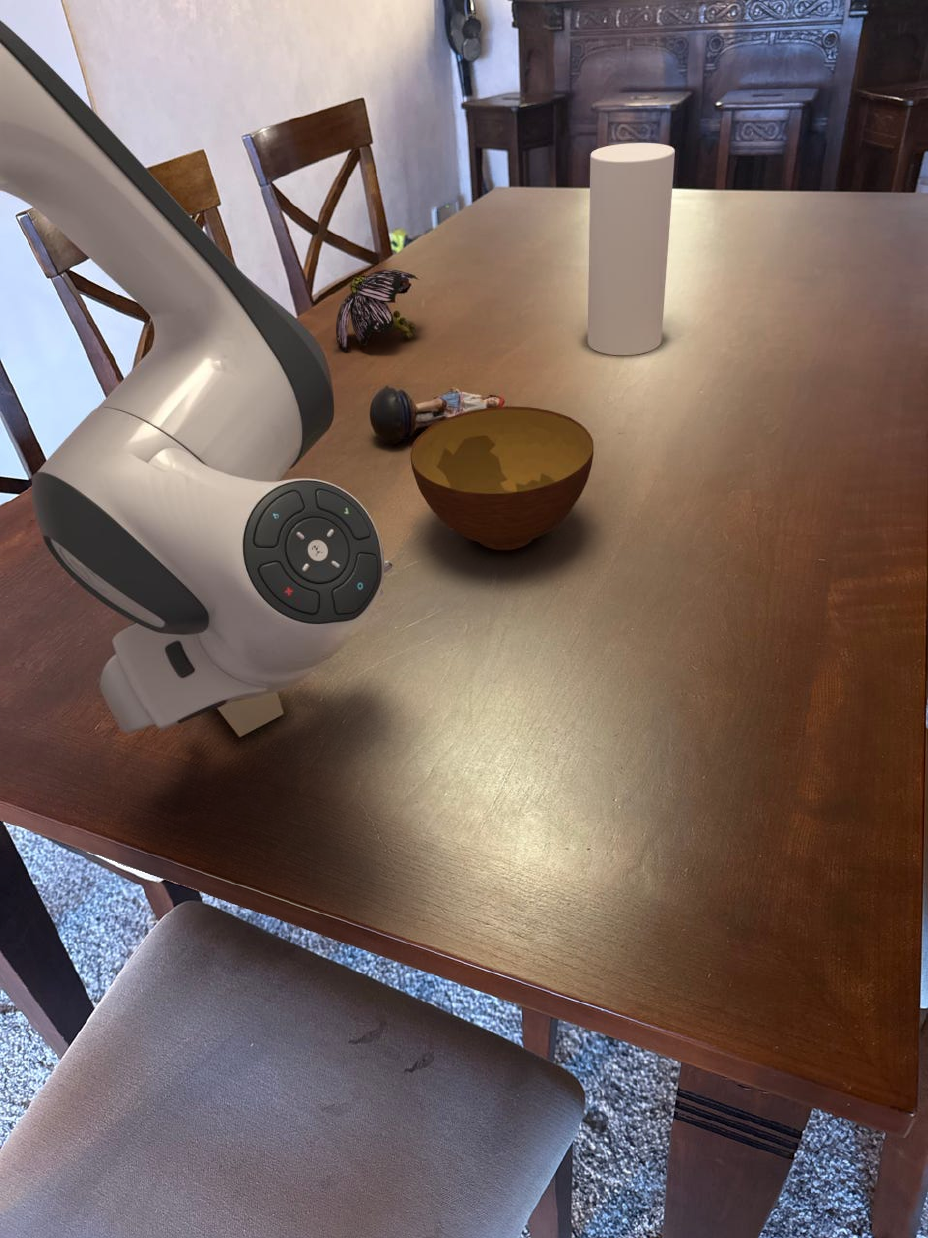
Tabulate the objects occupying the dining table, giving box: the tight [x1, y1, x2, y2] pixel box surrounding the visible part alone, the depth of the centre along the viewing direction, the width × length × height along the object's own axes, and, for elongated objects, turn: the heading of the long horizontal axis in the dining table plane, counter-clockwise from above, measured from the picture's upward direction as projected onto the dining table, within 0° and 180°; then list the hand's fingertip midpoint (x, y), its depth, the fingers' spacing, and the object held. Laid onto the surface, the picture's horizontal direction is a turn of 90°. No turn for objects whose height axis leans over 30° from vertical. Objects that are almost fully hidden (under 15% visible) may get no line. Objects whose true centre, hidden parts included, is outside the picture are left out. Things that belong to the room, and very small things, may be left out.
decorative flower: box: [335, 269, 420, 353], centre depth 131 cm, size 14×12×15 cm
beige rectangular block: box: [216, 692, 284, 738], centre depth 69 cm, size 4×5×9 cm
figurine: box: [369, 385, 506, 446], centre depth 107 cm, size 8×7×18 cm
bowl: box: [410, 405, 595, 551], centre depth 86 cm, size 18×18×10 cm
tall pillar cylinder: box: [587, 142, 676, 356], centre depth 119 cm, size 11×11×25 cm
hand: (236, 660), depth 67 cm, fingers open, 8 cm apart
